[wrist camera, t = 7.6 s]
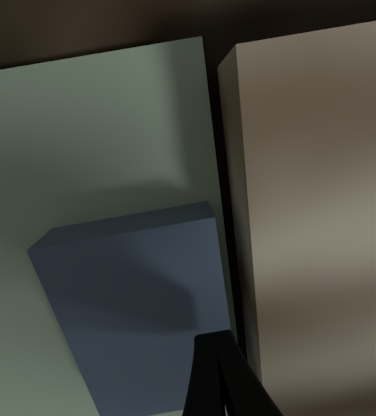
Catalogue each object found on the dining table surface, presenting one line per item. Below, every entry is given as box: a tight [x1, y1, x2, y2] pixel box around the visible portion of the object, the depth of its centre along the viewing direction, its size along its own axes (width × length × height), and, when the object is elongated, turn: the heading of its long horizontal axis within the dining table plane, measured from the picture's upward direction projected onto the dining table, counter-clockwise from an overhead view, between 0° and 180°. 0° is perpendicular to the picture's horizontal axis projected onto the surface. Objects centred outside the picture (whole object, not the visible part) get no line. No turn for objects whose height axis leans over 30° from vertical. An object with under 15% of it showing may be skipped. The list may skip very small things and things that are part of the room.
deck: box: [217, 21, 376, 416], centre depth 11 cm, size 20×12×3 cm, turn 9°
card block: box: [26, 201, 231, 416], centre depth 12 cm, size 10×7×2 cm
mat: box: [0, 36, 238, 416], centre depth 13 cm, size 22×20×1 cm
